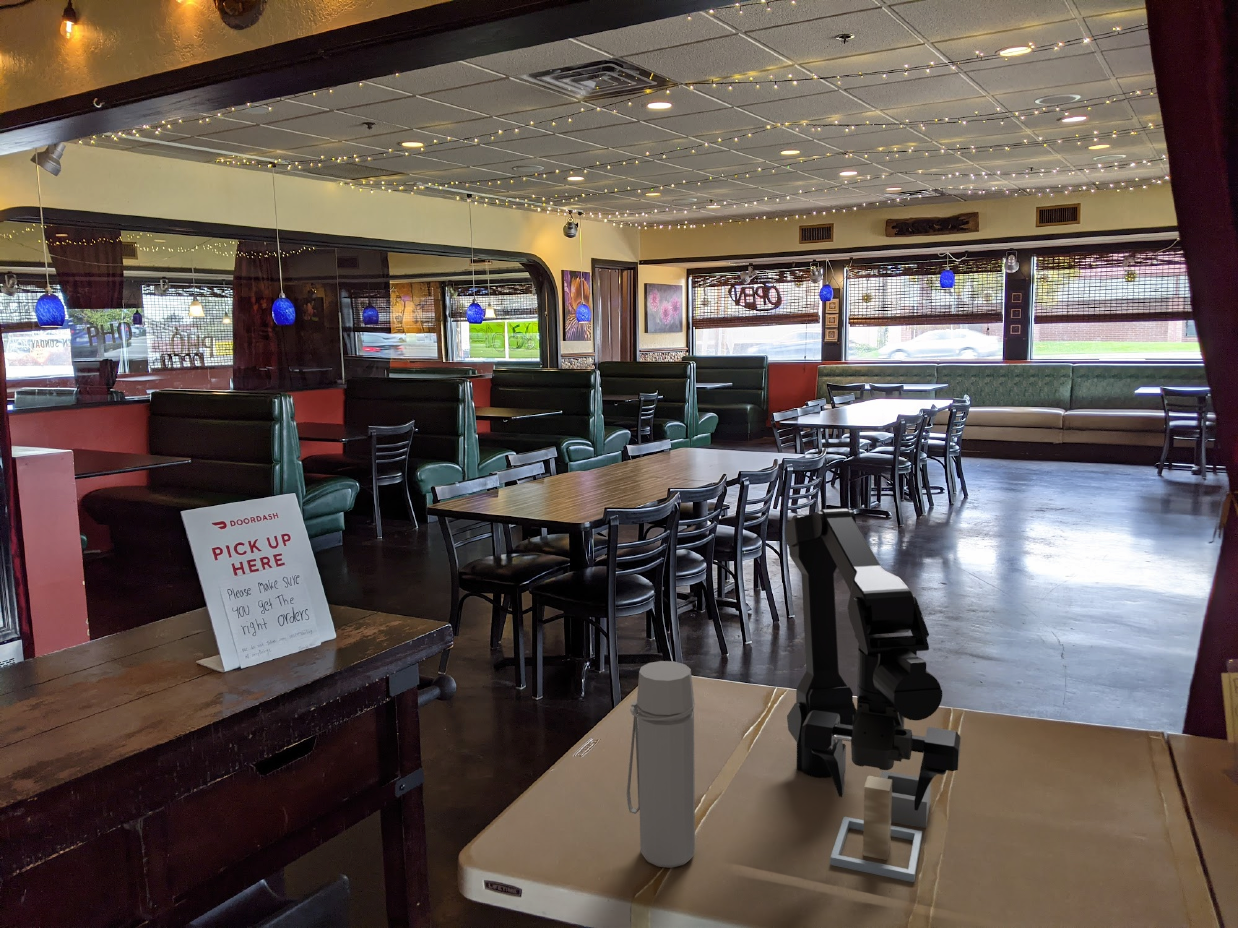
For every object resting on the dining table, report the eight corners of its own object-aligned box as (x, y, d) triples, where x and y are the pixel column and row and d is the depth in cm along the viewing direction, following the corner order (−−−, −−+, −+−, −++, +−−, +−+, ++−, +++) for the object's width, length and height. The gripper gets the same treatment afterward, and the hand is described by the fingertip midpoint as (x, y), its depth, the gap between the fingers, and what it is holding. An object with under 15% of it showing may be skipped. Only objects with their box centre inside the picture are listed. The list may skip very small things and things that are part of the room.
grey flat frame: (830, 870, 115) (830, 856, 115) (843, 828, 124) (844, 816, 124) (913, 887, 111) (914, 874, 111) (921, 843, 120) (921, 831, 120)
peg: (862, 856, 117) (864, 786, 115) (866, 843, 120) (868, 775, 118) (887, 861, 116) (889, 790, 114) (890, 848, 118) (892, 779, 117)
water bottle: (705, 844, 121) (703, 663, 117) (683, 877, 114) (681, 686, 110) (640, 829, 125) (637, 654, 121) (616, 860, 118) (611, 675, 114)
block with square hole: (874, 823, 125) (875, 793, 124) (881, 800, 131) (881, 770, 130) (925, 833, 123) (926, 802, 122) (929, 808, 129) (930, 778, 128)
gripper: (791, 699, 110) (790, 820, 113) (957, 723, 103) (952, 851, 106) (810, 666, 120) (809, 777, 123) (963, 686, 113) (958, 803, 116)
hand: (878, 802), depth 117 cm, fingers open, 9 cm apart
